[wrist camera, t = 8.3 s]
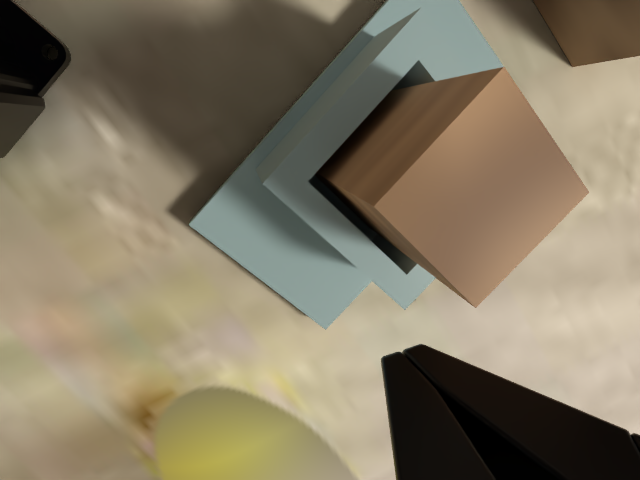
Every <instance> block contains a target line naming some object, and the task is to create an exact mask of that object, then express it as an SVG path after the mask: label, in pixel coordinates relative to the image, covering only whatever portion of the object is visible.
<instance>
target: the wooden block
mask: <svg viewBox="0 0 640 480" xmlns="http://www.w3.org/2000/svg"><path fill="white" fill-rule="evenodd" d="M314 175H315V176H316V177H317V178H318V179H319V180H320V181H322V182H323V183H324V184H325V185H326V186H327V187H328V188H329V189H330V190H331V191H332V192H333V193H334V194H335V195H336V196H337V197H338V198H339V199H340V200H341V201H342V202H343V203H344V204H345V205H347V206H348V207H349V208H350V209H351V210H352V211H353V212H354V213H355V214H356V215H357V216H358V217H359V218H360V219H361V220H362V221H363V222H364V223H365V224H366V225H367V226H368V227H369V228H371V229H372V230H373V231H375V232H376V233H377V234H379V235H380V236H381V237H383V238H384V239H385V240H387V241H388V242H389V243H391V244H392V245H393V246H394V247H396V248H397V249H398V250H400V251H401V252H402V253H404V254H405V255H406V256H408V257H409V258H410V259H412V260H413V261H414V262H416V263H417V264H418V265H420V266H421V267H422V268H424V269H425V270H426V271H428V272H429V273H430V274H431V275H433V276H434V277H435V278H437V279H438V280H439V281H441V282H442V283H443V284H445V285H446V286H447V287H449V288H450V289H451V290H453V291H454V292H455V293H457V294H458V295H459V296H461V297H462V298H463V299H464V300H466V301H467V302H468V303H470V304H471V305H472V306H474V307H475V308H476V307H477V306H478V305H479V304H480V303H481V302H482V301H483V300H484V299H485V298H486V297H487V296H488V295H489V294H490V293H491V292H492V291H493V290H494V289H495V288H496V287H497V286H498V285H499V284H500V283H501V282H502V281H503V280H504V279H505V278H506V277H507V276H508V275H509V273H510V272H511V271H512V270H513V269H514V268H515V267H516V266H517V265H518V264H519V263H520V262H521V261H522V260H523V259H524V258H525V257H526V256H527V255H528V254H529V253H530V252H531V251H532V250H533V249H534V248H535V247H536V246H537V245H538V244H539V243H540V242H541V241H542V240H543V239H544V238H545V237H546V236H547V235H548V234H549V233H550V232H551V231H552V230H553V229H554V228H555V227H556V226H557V225H558V224H559V223H560V222H561V221H562V220H563V218H564V217H565V216H566V215H567V214H568V213H569V212H570V211H571V210H572V209H573V208H574V207H575V206H576V205H577V204H578V203H579V202H580V201H581V200H582V199H583V198H584V197H585V196H586V195H587V194H588V193H589V191H588V190H587V188H586V187H585V185H584V184H583V182H582V181H581V179H580V178H579V176H578V175H577V173H576V172H575V171H574V169H573V168H572V166H571V165H570V163H569V162H568V160H567V159H566V157H565V156H564V154H563V153H562V151H561V150H560V148H559V147H558V145H557V144H556V143H555V141H554V140H553V138H552V137H551V135H550V134H549V132H548V131H547V129H546V128H545V126H544V125H543V123H542V122H541V120H540V119H539V117H538V116H537V115H536V113H535V112H534V110H533V109H532V107H531V106H530V104H529V103H528V101H527V100H526V98H525V97H524V95H523V94H522V92H521V91H520V89H519V88H518V87H517V85H516V84H515V82H514V81H513V79H512V78H511V76H510V75H509V73H508V72H507V70H506V69H505V67H501V68H496V69H491V70H486V71H482V72H477V73H472V74H467V75H463V76H458V77H453V78H449V79H444V80H439V81H434V82H430V83H425V84H420V85H416V86H411V87H406V88H401V89H397V90H392V91H390V92H389V93H388V94H387V95H386V96H385V97H384V99H383V100H382V101H381V102H380V103H379V104H378V105H377V106H376V107H375V108H374V110H373V111H372V112H371V113H370V114H369V115H368V116H367V117H366V118H365V119H364V121H363V122H362V123H361V124H360V125H359V126H358V127H357V128H356V129H355V130H354V132H353V133H352V134H351V135H350V136H349V137H348V138H347V139H346V140H345V141H344V143H343V144H342V145H341V146H340V147H339V148H338V149H337V150H336V151H335V152H334V153H333V155H332V156H331V157H330V158H329V159H328V160H327V161H326V162H325V163H324V164H323V166H322V167H321V168H320V169H319V170H318V171H317V172H316V173H315V174H314Z"/></svg>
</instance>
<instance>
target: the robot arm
mask: <svg viewBox="0 0 640 480" xmlns="http://www.w3.org/2000/svg"><path fill="white" fill-rule="evenodd" d="M50 47H55V48H56V49H57V50H58V57H57V59H55V60H50V59H49V58H48V56H47V50H48V48H50ZM70 61H71V54H70V52H69V49H68V48H67V47H66V45H65V44H64V43H63V42H61V41H60V40H59V39H58V38H57V37H56V36H54V35H53V34H52V33H51V32H50V31H49V30H47V29H46V28H45V27H44V26H43V25H41V24H40V23H39V22H38V21H37V20H36V19H34V18H33V17H32V16H31V15H30V14H29V13H27V12H26V11H25V10H24V9H23V8H21V7H20V6H19V5H18V4H17V3H16V2H14V1H13V0H0V158H3V157H5V156H6V155H7V153H8V152H9V151H10V150H11V149H12V147H13V146H14V145H15V144H16V143H17V141H18V140H19V139H20V138H21V136H22V135H23V134H24V133H25V132H26V130H27V129H28V128H29V127H30V126H31V124H32V123H33V122H34V121H35V120H36V118H37V117H38V116H39V115H40V114H41V112H42V111H43V110H44V109H45V102H44V99H43V98H42V96H43V95H44V94H45V93H46V92H47V90H48V89H49V88H50V87H51V86H52V84H53V83H54V82H55V81H56V80H57V78H58V77H59V76H60V75H61V74H62V72H63V71H64V70H65V69H66V67H67V66H68V65H69V63H70ZM381 365H382V373H383V380H384V388H385V396H386V404H387V411H388V419H389V427H390V435H391V442H392V450H393V458H394V466H395V474H396V480H640V435H638V434H635V433H633V434H631V435H630V433H629V432H628V431H627V430H626V429H623V428H621V427H619V426H616V425H614V424H611V423H609V422H607V421H604V420H602V419H600V418H597V417H595V416H592V415H590V414H588V413H585V412H583V411H581V410H578V409H576V408H573V407H571V406H569V405H566V404H564V403H562V402H559V401H557V400H554V399H552V398H550V397H547V396H545V395H542V394H540V393H538V392H535V391H533V390H531V389H528V388H526V387H523V386H521V385H519V384H516V383H514V382H512V381H509V380H507V379H504V378H502V377H500V376H497V375H495V374H493V373H490V372H488V371H485V370H483V369H481V368H478V367H476V366H474V365H471V364H469V363H466V362H464V361H462V360H459V359H457V358H455V357H452V356H450V355H447V354H445V353H443V352H440V351H438V350H436V349H433V348H431V347H428V346H426V345H423V344H419V345H416V346H413V347H410V348H407V349H405V350H404V351H403V352H402V353H401V352H395V353H392V354H389V355H386V356H383V357H382V358H381Z"/></svg>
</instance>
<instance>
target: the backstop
mask: <svg viewBox="0 0 640 480" xmlns="http://www.w3.org/2000/svg"><path fill="white" fill-rule="evenodd" d="M533 1H534V3H535V5H536V6H537V8H538V10H539V12H540V13H541V15H542V17H543V18H544V20H545V22H546V23H547V25H548V27H549V28H550V30H551V32H552V33H553V35H554V37H555V38H556V40H557V42H558V43H559V45H560V47H561V48H562V50H563V52H564V53H565V55H566V57H567V58H568V60H569V62H570V64H571V65H572V67H575V66H581V65H587V64H593V63H599V62H605V61H611V60H617V59H623V58H629V57H635V56H640V0H533Z"/></svg>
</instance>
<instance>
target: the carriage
mask: <svg viewBox="0 0 640 480" xmlns="http://www.w3.org/2000/svg"><path fill="white" fill-rule="evenodd" d="M501 67H504V66H503V65H502V63H501V62H500V60H499V59H498V57H497V56H496V54H495V53H494V51H493V50H492V48H491V47H490V45H489V44H488V42H487V41H486V40H485V38H484V37H483V35H482V34H481V32H480V31H479V29H478V28H477V26H476V25H475V23H474V22H473V20H472V19H471V17H470V16H469V14H468V13H467V12H466V10H465V9H464V7H463V6H462V4H461V3H460V1H459V0H386V1H385V2H384V4H383V5H382V6H381V7H380V8H379V9H378V10H377V11H376V13H375V14H374V15H373V16H372V17H371V18H370V19H369V20H368V22H367V23H366V24H365V25H364V26H363V27H362V28H361V29H360V31H359V32H358V33H357V34H356V35H355V36H354V37H353V38H352V40H351V41H350V42H349V43H348V44H347V45H346V46H345V47H344V49H343V50H342V51H341V52H340V53H339V54H338V55H337V56H336V58H335V59H334V60H333V61H332V62H331V63H330V64H329V65H328V66H327V68H326V69H325V70H324V71H323V72H322V73H321V74H320V75H319V77H318V78H317V79H316V80H315V81H314V82H313V83H312V84H311V86H310V87H309V88H308V89H307V90H306V91H305V92H304V93H303V95H302V96H301V97H300V98H299V99H298V100H297V101H296V102H295V104H294V105H293V106H292V107H291V108H290V109H289V110H288V111H287V113H286V114H285V115H284V116H283V117H282V118H281V119H280V120H279V122H278V123H277V124H276V125H275V126H274V127H273V128H272V129H271V131H270V132H269V133H268V134H267V135H266V136H265V137H264V138H263V140H262V141H261V142H260V143H259V144H258V145H257V146H256V147H255V149H254V150H253V151H252V152H251V153H250V154H249V155H248V156H247V158H246V159H245V160H244V161H243V162H242V163H241V164H240V165H239V167H238V168H237V169H236V170H235V171H234V172H233V173H232V174H231V176H230V177H229V178H228V179H227V180H226V181H225V182H224V183H223V185H222V186H221V187H220V188H219V189H218V190H217V191H216V192H215V194H214V195H213V196H212V197H211V198H210V199H209V200H208V201H207V202H206V204H205V205H204V206H203V207H202V208H201V209H200V210H199V211H198V213H197V214H196V215H195V216H194V217H193V218H192V219H191V221H190V223H189V225H190V226H191V227H192V228H193V229H195V230H196V231H197V232H199V233H200V234H201V235H203V236H204V237H205V238H207V239H208V240H209V241H210V242H212V243H213V244H214V245H216V246H217V247H218V248H220V249H221V250H222V251H223V252H225V253H226V254H227V255H229V256H230V257H231V258H233V259H234V260H235V261H237V262H238V263H239V264H240V265H242V266H243V267H244V268H246V269H247V270H248V271H250V272H251V273H252V274H254V275H255V276H256V277H257V278H259V279H260V280H261V281H263V282H264V283H265V284H267V285H268V286H269V287H271V288H272V289H273V290H274V291H276V292H277V293H278V294H280V295H281V296H282V297H284V298H285V299H286V300H288V301H289V302H290V303H291V304H293V305H294V306H295V307H297V308H298V309H299V310H301V311H302V312H303V313H305V314H306V315H307V316H308V317H310V318H311V319H312V320H314V321H315V322H316V323H318V324H319V325H320V326H322V327H323V328H324V329H325V330H326V329H327V328H328V327H329V326H330V325H331V323H332V322H333V321H334V320H335V319H336V318H337V317H338V316H339V315H340V314H341V313H342V312H343V311H344V310H345V309H346V308H347V307H348V306H349V304H350V303H351V302H352V301H353V300H354V299H355V298H356V297H357V296H358V295H359V294H360V293H361V292H362V291H363V290H364V289H365V288H366V287H367V286H368V284H369V283H370V282H371V281H373V282H374V283H375V284H376V285H377V286H378V287H379V288H381V289H382V290H383V291H384V292H385V293H386V294H387V295H388V296H390V297H391V298H392V299H393V300H394V301H395V302H396V303H397V304H399V305H400V306H401V307H402V308H403V309H404V310H405V309H406V308H407V307H408V306H409V305H410V304H411V303H412V302H413V301H414V300H415V299H416V298H417V297H418V296H419V295H420V294H421V293H422V292H423V291H424V290H425V289H426V288H427V287H428V286H429V284H430V283H431V282H432V281H433V280H434V279H435V277H434V276H433V275H431V274H430V273H429V272H428V271H426V270H425V269H424V268H422V267H421V266H420V265H418V264H417V263H416V262H414V261H413V260H412V259H410V258H409V257H408V256H406V255H405V254H404V253H402V252H401V251H400V250H398V249H397V248H396V247H394V246H393V245H392V244H391V243H389V242H388V241H387V240H385V239H384V238H383V237H381V236H380V235H379V234H377V233H376V232H375V231H373V230H372V229H371V228H369V227H368V226H367V225H366V224H365V223H364V222H363V221H362V220H361V219H360V218H359V217H358V216H357V215H356V214H355V213H354V212H353V211H352V210H351V209H350V208H349V207H348V206H347V205H345V204H344V203H343V202H342V201H341V200H340V199H339V198H338V197H337V196H336V195H335V194H334V193H333V192H332V191H331V190H330V189H329V188H328V187H327V186H326V185H325V184H324V183H323V182H322V181H320V180H319V179H318V178H317V177H316V176H315V175H314V174H315V173H316V172H317V171H318V170H319V169H320V168H321V167H322V166H323V164H324V163H325V162H326V161H327V160H328V159H329V158H330V157H331V156H332V155H333V153H334V152H335V151H336V150H337V149H338V148H339V147H340V146H341V145H342V144H343V143H344V141H345V140H346V139H347V138H348V137H349V136H350V135H351V134H352V133H353V132H354V130H355V129H356V128H357V127H358V126H359V125H360V124H361V123H362V122H363V121H364V119H365V118H366V117H367V116H368V115H369V114H370V113H371V112H372V111H373V110H374V108H375V107H376V106H377V105H378V104H379V103H380V102H381V101H382V100H383V99H384V97H385V96H386V95H387V94H388V93H389V92H390V91H392V90H397V89H401V88H406V87H411V86H416V85H420V84H425V83H430V82H434V81H439V80H444V79H449V78H453V77H458V76H463V75H467V74H472V73H477V72H482V71H486V70H491V69H496V68H501Z"/></svg>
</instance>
